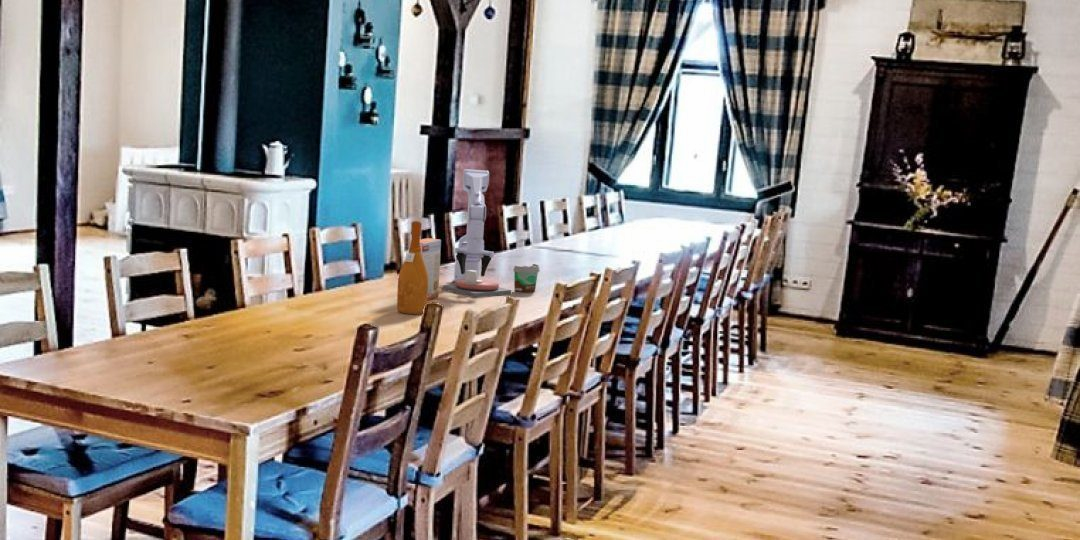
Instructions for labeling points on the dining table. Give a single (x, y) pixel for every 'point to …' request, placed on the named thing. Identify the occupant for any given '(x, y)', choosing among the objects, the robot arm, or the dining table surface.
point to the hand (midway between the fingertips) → (472, 274)
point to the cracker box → (431, 264)
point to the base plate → (476, 291)
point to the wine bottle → (413, 277)
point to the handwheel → (476, 282)
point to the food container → (525, 278)
